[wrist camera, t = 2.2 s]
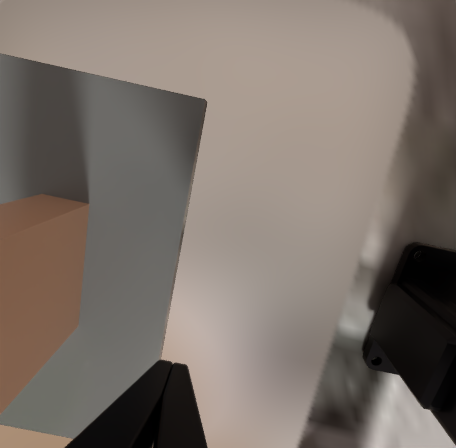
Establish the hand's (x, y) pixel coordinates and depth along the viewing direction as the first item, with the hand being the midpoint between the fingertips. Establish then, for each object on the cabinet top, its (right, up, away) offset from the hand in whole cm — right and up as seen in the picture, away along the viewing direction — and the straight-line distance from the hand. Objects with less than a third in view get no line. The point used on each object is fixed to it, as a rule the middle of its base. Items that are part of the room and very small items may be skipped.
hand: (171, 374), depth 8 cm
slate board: (-9, +2, +6) cm, 11 cm away
